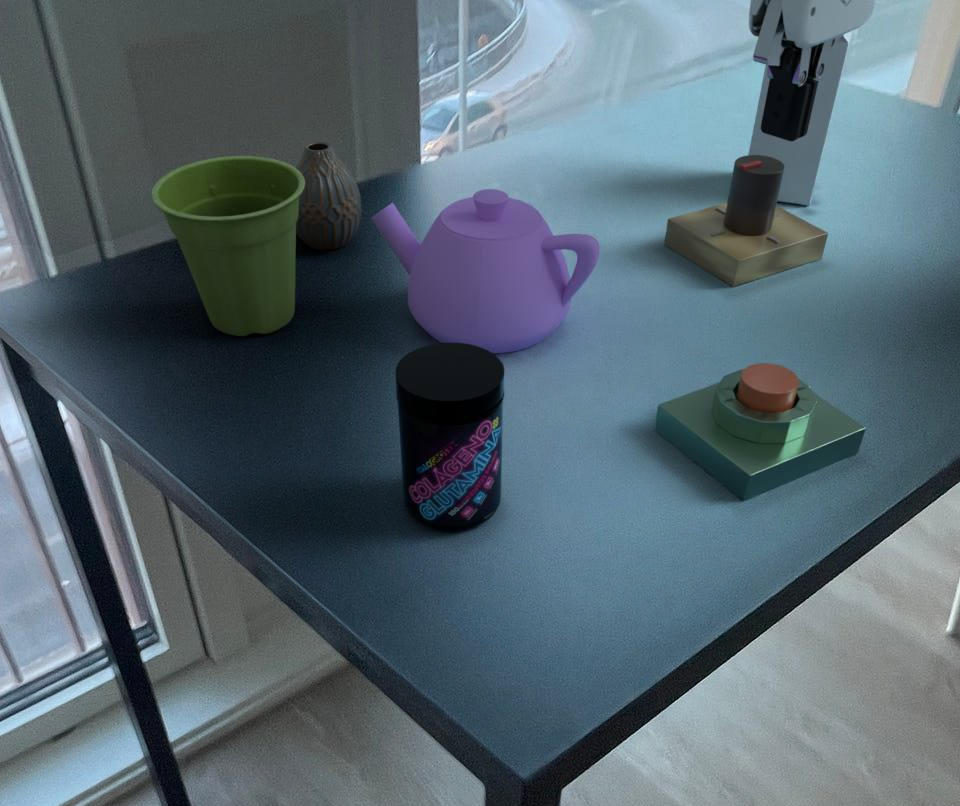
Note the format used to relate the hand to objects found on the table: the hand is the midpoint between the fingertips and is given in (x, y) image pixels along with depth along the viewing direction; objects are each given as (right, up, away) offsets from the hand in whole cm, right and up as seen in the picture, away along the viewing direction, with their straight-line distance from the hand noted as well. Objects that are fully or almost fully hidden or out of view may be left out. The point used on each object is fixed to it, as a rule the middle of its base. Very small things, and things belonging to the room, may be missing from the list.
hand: (782, 133), depth 78 cm
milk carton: (+8, +8, +28) cm, 30 cm away
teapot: (-24, -12, +9) cm, 28 cm away
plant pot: (-43, -12, +8) cm, 46 cm away
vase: (-38, -1, +19) cm, 43 cm away
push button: (-3, -22, -7) cm, 23 cm away
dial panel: (+1, -2, +18) cm, 18 cm away
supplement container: (-25, -30, -9) cm, 41 cm away
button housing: (-3, -25, -4) cm, 25 cm away
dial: (+1, -1, +16) cm, 16 cm away
